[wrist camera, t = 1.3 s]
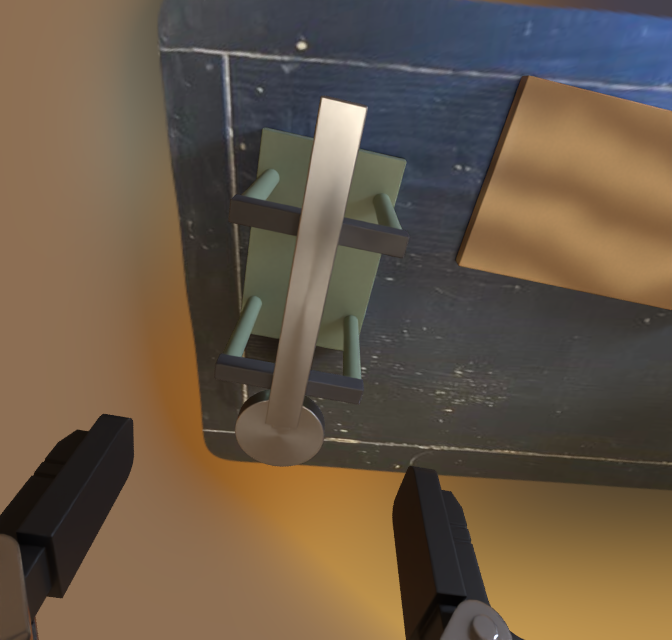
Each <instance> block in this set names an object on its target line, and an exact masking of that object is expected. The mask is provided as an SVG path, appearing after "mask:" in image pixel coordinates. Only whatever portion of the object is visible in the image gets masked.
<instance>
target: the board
mask: <svg viewBox="0 0 672 640" xmlns="http://www.w3.org/2000/svg"><path fill="white" fill-rule="evenodd" d="M456 262H457V264H458V265H459V266H463V267H468V268H472V269H477V270H482V271H487V272H491V273H496V274H501V275H506V276H511V277H515V278H520V279H525V280H530V281H535V282H539V283H544V284H549V285H554V286H559V287H563V288H568V289H573V290H578V291H582V292H587V293H592V294H597V295H602V296H606V297H611V298H616V299H621V300H626V301H630V302H635V303H640V304H645V305H649V306H654V307H659V308H664V309H669V310H672V111H670V110H666V109H662V108H658V107H654V106H650V105H646V104H642V103H638V102H634V101H630V100H626V99H622V98H618V97H614V96H609V95H605V94H601V93H597V92H593V91H589V90H585V89H581V88H577V87H573V86H569V85H565V84H561V83H557V82H553V81H549V80H545V79H541V78H537V77H533V76H522V78H521V81H520V84H519V86H518V89H517V92H516V95H515V97H514V100H513V103H512V106H511V108H510V111H509V114H508V117H507V119H506V122H505V125H504V128H503V130H502V133H501V136H500V139H499V141H498V144H497V147H496V150H495V152H494V155H493V158H492V161H491V163H490V166H489V169H488V172H487V175H486V177H485V180H484V183H483V186H482V188H481V191H480V194H479V197H478V199H477V202H476V205H475V208H474V210H473V213H472V216H471V219H470V221H469V224H468V227H467V230H466V232H465V235H464V238H463V241H462V243H461V246H460V249H459V252H458V255H457V257H456Z"/></svg>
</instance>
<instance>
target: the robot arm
mask: <svg viewBox="0 0 672 640" xmlns="http://www.w3.org/2000/svg"><path fill="white" fill-rule="evenodd" d="M133 442H134V441H133V420H132V419H131V418H126V417H120V416H114V415H108V414H102V415H101V416H100V417H99V418H98V419H97V421H96V422H95V424H94V425H93V426H92V428H91V429H90V430H89V431H82V430H76V431H74V432H73V433H72V434H70V435H68V436H67V437H65V438H64V439H62V440H61V441H59V442H58V443H57V444H56V446H55V447H54V448H53V450H52V451H51V452H50V453H49V454H48V456H47V457H46V458H45V461H44V462H42V463H41V464H40V466H39V467H38V468H37V470H36V471H35V473H34V475H33V476H31V477H30V478H29V480H28V481H27V482H26V483H25V485H24V486H23V487H22V489H21V490H20V491H19V492H18V493H17V495H16V496H15V497H14V499H13V500H12V501H11V502H10V504H9V505H8V506H7V507H6V509H5V510H4V511H3V512H2V514H1V515H0V640H39V639H38V632H37V623H36V617H35V616H36V614H37V612H38V610H39V609H40V607H41V605H42V603H43V602H44V600H45V598H46V596H48V597H56V598H63V596H64V594H65V592H66V591H67V589H68V587H69V585H70V583H71V581H72V580H73V578H74V576H75V574H76V572H77V570H78V569H79V567H80V565H81V563H82V561H83V559H84V557H85V556H86V554H87V552H88V550H89V548H90V547H91V545H92V543H93V541H94V539H95V537H96V536H97V534H98V532H99V530H100V528H101V526H102V524H103V523H104V521H105V519H106V517H107V515H108V513H109V511H110V510H111V508H112V506H113V504H114V502H115V501H116V499H117V497H118V495H119V493H120V491H121V490H122V488H123V486H124V484H125V482H126V480H127V478H128V476H129V474H130V471H131V468H132V464H133V458H134V446H133V445H134V443H133ZM392 516H393V517H392V518H393V530H394V538H395V547H396V556H397V564H398V574H399V582H400V591H401V600H402V608H403V617H404V626H405V635H406V640H524V639H521V638H520V637H518V636H516V635H515V634H514V633H512V632H511V631H510V630H509V628H508V626H507V624H506V623H505V621H504V620H503V619H502V617H501V616H500V615H499V614H498V613H497V612H496V611H495V610H494V609H493V608H492V607H491V606H490V604H489V601H488V598H487V595H486V591H485V587H484V584H483V580H482V577H481V573H480V570H479V566H478V563H477V559H476V555H475V552H474V548H473V545H472V544H471V538H470V534H469V531H468V529H467V523H466V520H465V516H464V513H463V509H462V507H461V506H460V504H459V503H458V501H457V500H456V498H455V497H454V495H453V494H452V492H451V491H445V490H441V487H440V483H439V479H438V475H437V472H436V471H435V470H432V469H426V468H420V467H414V466H409V467H408V469H407V471H406V474H405V476H404V479H403V481H402V483H401V486H400V488H399V490H398V493H397V495H396V498H395V500H394V505H393V513H392Z"/></svg>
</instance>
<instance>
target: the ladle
mask: <svg viewBox="0 0 672 640" xmlns="http://www.w3.org/2000/svg"><path fill="white" fill-rule="evenodd" d="M367 111H368V107H367V106H366V105H363V104H359V103H355V102H350V101H346V100H342V99H338V98H334V97H329V96H325V95H324V96H321V98H320V104H319V110H318V116H317V121H316V127H315V133H314V139H313V145H312V151H311V157H310V162H309V168H308V174H307V180H306V186H305V192H304V198H303V203H302V209H301V215H300V221H299V227H298V233H297V239H296V244H295V250H294V256H293V262H292V268H291V274H290V280H289V285H288V291H287V297H286V303H285V309H284V315H283V321H282V327H281V332H280V338H279V344H278V350H277V356H276V362H275V368H274V373H273V379H272V385H271V389H269V390H265V391H261V392H259V393H257V394H255V395H253V396H252V397H250V398H249V399H248V400H247V401H246V402H245V403H244V404H243V406H242V407H241V410H240V412H239V415H238V418H237V421H236V425H235V434H236V438H237V441H238V443H239V445H240V446H241V448H242V449H243V450H244V451H245V452H246V453H247V454H248V455H249V456H251V457H252V458H254V459H255V460H257V461H259V462H262V463H265V464H268V465H272V466H293V465H298V464H301V463H303V462H306V461H307V460H309V459H311V458H312V457H313V456H314V455H316V454H317V452H318V451H319V450H320V448H321V446H322V444H323V440H324V429H325V421H324V417H323V414H322V412H321V410H320V409H319V407H318V406H317V405H316V404H315V403H314V401H312V400H311V399H310V398H308V397H307V396H305V393H306V388H307V383H308V379H309V374H310V370H311V365H312V361H313V356H314V352H315V347H316V343H317V338H318V333H319V329H320V324H321V320H322V315H323V311H324V306H325V302H326V297H327V293H328V288H329V283H330V279H331V274H332V270H333V265H334V261H335V256H336V252H337V247H338V243H339V238H340V233H341V229H342V224H343V220H344V215H345V211H346V206H347V202H348V197H349V193H350V188H351V183H352V179H353V174H354V170H355V165H356V161H357V156H358V152H359V147H360V143H361V138H362V133H363V129H364V124H365V120H366V115H367Z"/></svg>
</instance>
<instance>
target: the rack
mask: <svg viewBox="0 0 672 640" xmlns="http://www.w3.org/2000/svg"><path fill="white" fill-rule="evenodd" d="M313 139H314V138H310V137H306V136H301V135H297V134H293V133H288V132H284V131H279V130H275V129H271V128H264V129H262V136H261V144H260V153H259V162H258V170H257V179H256V180H255V181H254V182H253V183H252V184H251V185H250V186H249V188H248V189H247V190H246V191H245V192H244V193H243V194H242V195H238V194H236V195H235V196H234V197H233V198H232V199H231V200H230V210H229V222H230V223H235V224H240V225H245V226H250V227H251V230H250V239H249V247H248V256H247V264H246V273H245V282H244V290H243V299H242V307H241V315H240V317H239V319H238V321H237V323H236V326H235V328H234V330H233V332H232V334H231V336H230V339H229V341H228V343H227V345H226V347H225V349H224V352H223V354H220V356H219V358H218V360H217V362H216V365H215V376H214V378H215V379H218V380H223V381H229V382H235V383H240V384H246V385H251V386H257V387H263V388H268V389H271V385H272V379H273V373H274V368H275V363H271V362H265V361H260V360H254V359H249V358H243V357H242V354H243V352H244V349H245V347H246V344H247V341H248V339H249V336H250V334H256V335H261V336H266V337H272V338H277V339H279V338H280V332H281V327H282V321H283V315H284V309H285V303H286V297H287V291H288V285H289V280H290V274H291V268H292V262H293V256H294V250H295V244H296V239H297V233H298V227H299V221H300V215H301V209H302V203H303V198H304V192H305V186H306V180H307V174H308V168H309V162H310V157H311V151H312V145H313ZM405 166H406V161H405V159H403V158H398V157H394V156H389V155H385V154H381V153H376V152H372V151H367V150H363V149H359V152H358V156H357V161H356V165H355V170H354V174H353V179H352V183H351V188H350V193H349V197H348V202H347V206H346V211H345V215H344V220H343V224H342V229H341V233H340V238H339V243H338V247H337V252H336V256H335V261H334V265H333V270H332V274H331V279H330V283H329V288H328V293H327V297H326V302H325V306H324V311H323V315H322V320H321V324H320V329H319V333H318V338H317V343H316V346H320V347H325V348H330V349H336V350H341V351H343V376H342V375H336V374H331V373H325V372H320V371H314V370H310V374H309V379H308V383H307V388H306V393H305V395H308V396H313V397H319V398H324V399H330V400H336V401H341V402H347V403H352V404H358V405H359V404H360V401H361V398H362V395H363V391H364V388H363V379H361V367H360V348H359V334H360V331H361V327H362V323H363V320H364V316H365V312H366V309H367V305H368V301H369V298H370V294H371V290H372V287H373V283H374V279H375V276H376V272H377V268H378V265H379V261H380V257H381V254H384V255H389V256H394V257H399V258H404V255H405V252H406V248H407V245H408V242H409V239H410V237H409V235H408V232H407V231H406V230H402V228H401V226H400V223H399V221H398V218H397V216H396V213H395V211H394V206H395V202H396V199H397V195H398V192H399V188H400V184H401V181H402V177H403V173H404V170H405Z"/></svg>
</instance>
